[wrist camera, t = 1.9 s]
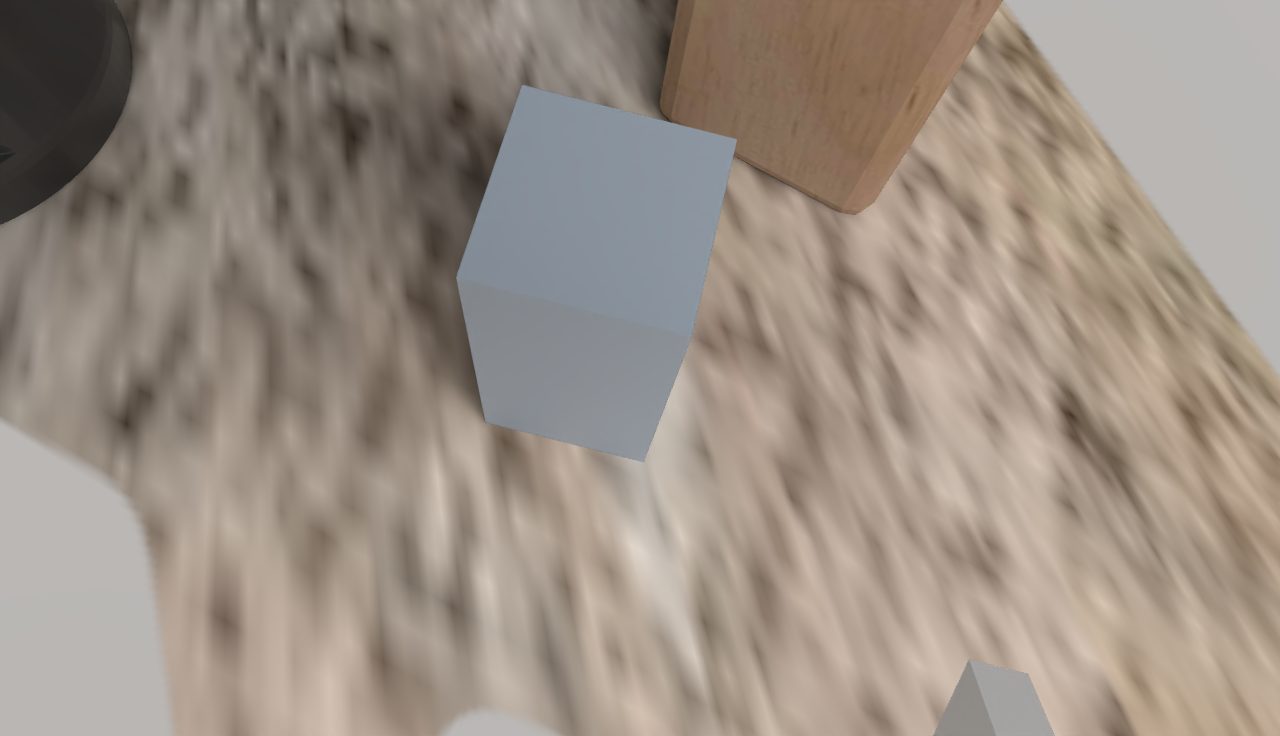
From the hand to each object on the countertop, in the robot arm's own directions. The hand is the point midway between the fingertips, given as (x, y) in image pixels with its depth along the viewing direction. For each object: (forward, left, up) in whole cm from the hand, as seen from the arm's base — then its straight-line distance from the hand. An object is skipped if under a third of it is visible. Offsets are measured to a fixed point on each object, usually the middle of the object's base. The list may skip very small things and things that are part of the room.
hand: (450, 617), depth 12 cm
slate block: (0, +11, -20) cm, 23 cm away
